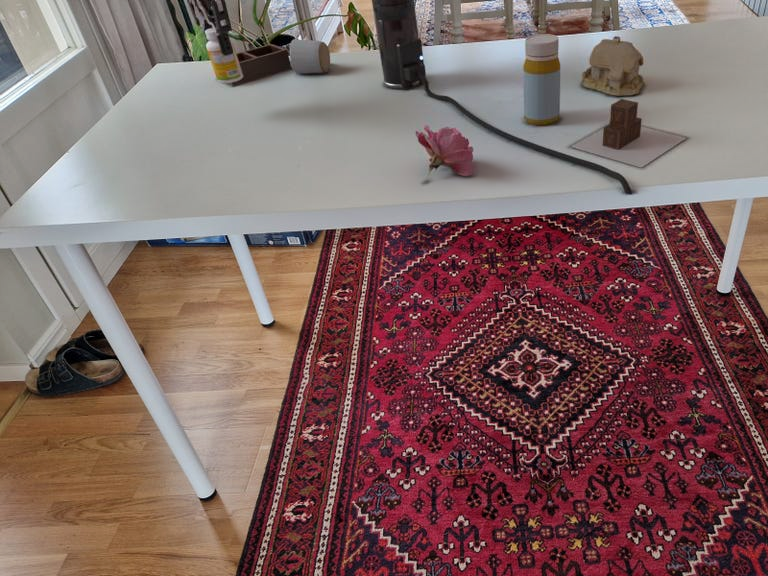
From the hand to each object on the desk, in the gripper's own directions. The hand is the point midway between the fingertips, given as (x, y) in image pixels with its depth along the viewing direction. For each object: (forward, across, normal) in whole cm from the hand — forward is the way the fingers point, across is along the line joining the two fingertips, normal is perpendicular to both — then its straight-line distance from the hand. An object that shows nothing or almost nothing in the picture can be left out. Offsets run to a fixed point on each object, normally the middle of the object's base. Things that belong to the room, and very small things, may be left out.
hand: (221, 51), depth 131 cm
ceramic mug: (+14, +14, -27) cm, 33 cm away
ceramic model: (+15, -52, -62) cm, 83 cm away
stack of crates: (+15, -73, -41) cm, 85 cm away
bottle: (+14, -53, -40) cm, 67 cm away
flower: (+14, -56, -12) cm, 59 cm away
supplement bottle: (+6, 0, 0) cm, 6 cm away
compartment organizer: (+13, +25, -16) cm, 33 cm away
